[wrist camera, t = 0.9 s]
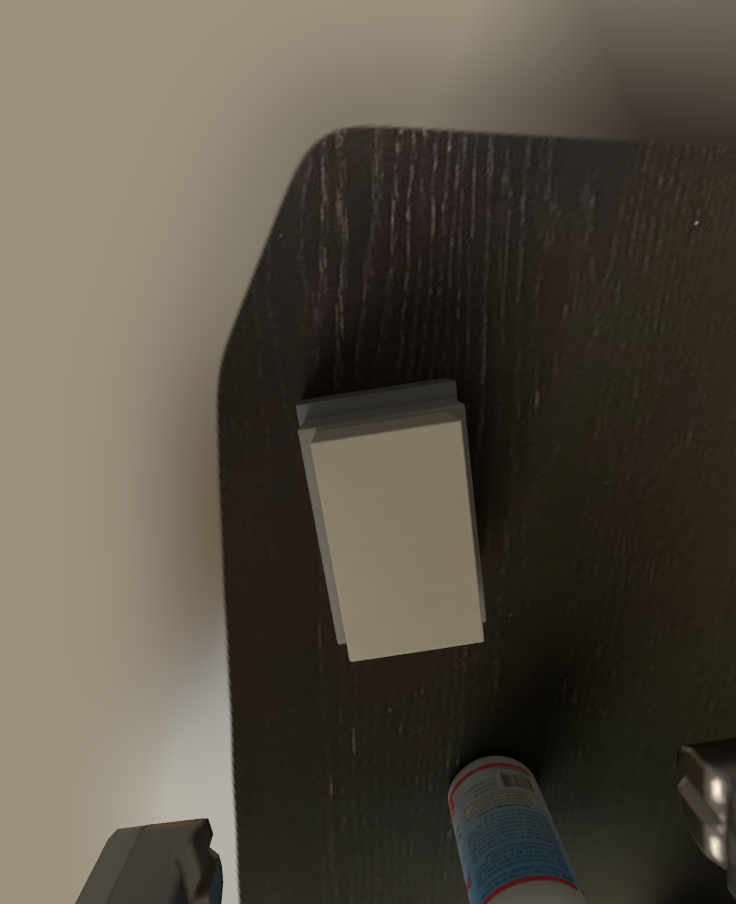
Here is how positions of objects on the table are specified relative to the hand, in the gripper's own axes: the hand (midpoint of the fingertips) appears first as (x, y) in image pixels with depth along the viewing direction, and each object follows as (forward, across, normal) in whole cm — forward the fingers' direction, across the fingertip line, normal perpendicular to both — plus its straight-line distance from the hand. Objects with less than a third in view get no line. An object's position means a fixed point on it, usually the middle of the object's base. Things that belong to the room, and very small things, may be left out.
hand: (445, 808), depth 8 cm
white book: (+14, 0, 0) cm, 14 cm away
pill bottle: (+19, -4, +22) cm, 30 cm away
